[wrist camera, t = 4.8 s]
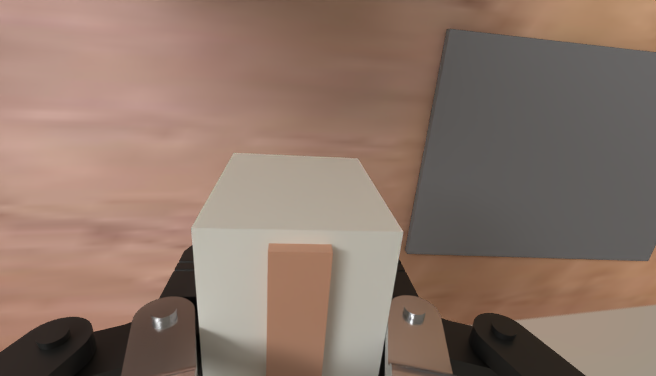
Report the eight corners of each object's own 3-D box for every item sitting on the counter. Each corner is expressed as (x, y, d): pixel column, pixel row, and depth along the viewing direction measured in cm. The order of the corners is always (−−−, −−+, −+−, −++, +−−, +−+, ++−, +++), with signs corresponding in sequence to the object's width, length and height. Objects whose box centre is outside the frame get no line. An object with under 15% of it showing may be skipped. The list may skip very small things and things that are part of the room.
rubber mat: (446, 29, 21) (450, 28, 20) (731, 61, 23) (740, 62, 22) (405, 250, 26) (407, 253, 25) (642, 257, 28) (648, 261, 28)
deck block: (233, 152, 11) (186, 236, 6) (357, 158, 11) (407, 239, 6) (238, 326, 13) (207, 484, 9) (339, 324, 14) (365, 473, 9)
